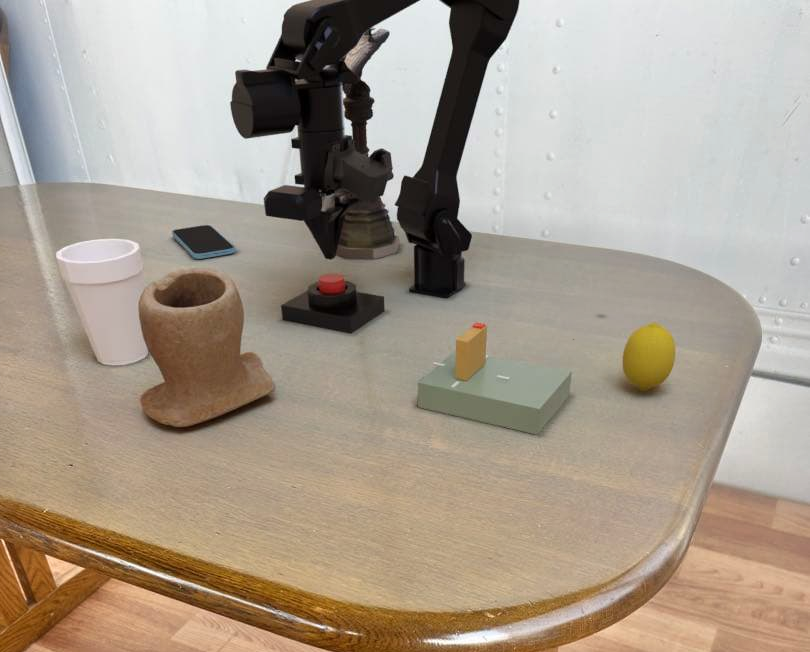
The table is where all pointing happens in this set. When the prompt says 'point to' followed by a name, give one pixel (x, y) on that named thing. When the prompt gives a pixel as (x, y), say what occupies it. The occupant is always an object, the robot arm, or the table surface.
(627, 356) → the lemon
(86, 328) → the foam cup
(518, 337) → the table surface
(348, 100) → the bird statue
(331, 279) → the button
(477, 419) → the plate
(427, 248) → the robot arm
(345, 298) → the release button base
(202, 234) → the smartphone
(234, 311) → the stone cup
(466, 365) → the orange flat slab
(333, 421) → the table surface
